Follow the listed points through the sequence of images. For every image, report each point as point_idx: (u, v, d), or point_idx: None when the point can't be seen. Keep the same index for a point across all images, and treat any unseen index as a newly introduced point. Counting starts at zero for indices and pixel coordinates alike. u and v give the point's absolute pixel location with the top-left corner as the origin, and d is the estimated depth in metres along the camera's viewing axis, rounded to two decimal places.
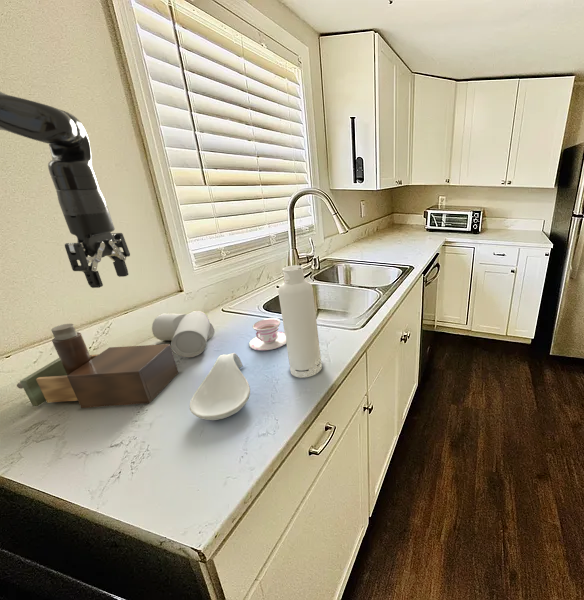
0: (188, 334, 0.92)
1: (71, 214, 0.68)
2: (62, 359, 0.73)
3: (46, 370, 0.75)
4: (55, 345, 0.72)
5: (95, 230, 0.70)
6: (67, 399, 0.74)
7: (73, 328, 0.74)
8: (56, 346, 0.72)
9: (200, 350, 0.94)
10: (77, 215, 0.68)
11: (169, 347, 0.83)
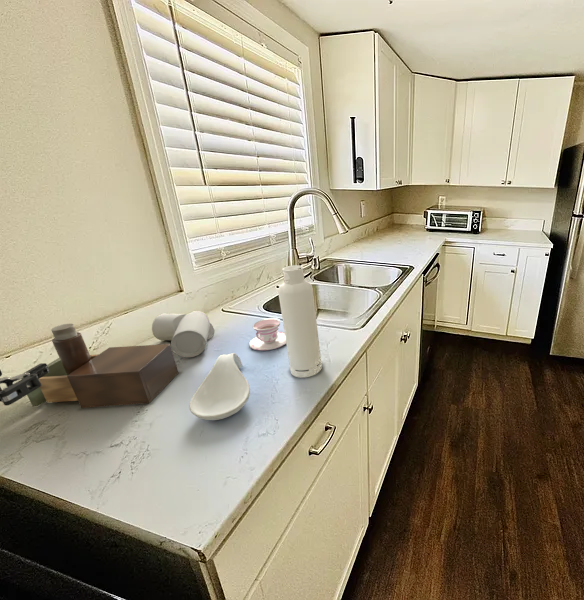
0: (188, 334, 0.92)
1: None
2: (62, 359, 0.73)
3: None
4: (55, 345, 0.72)
5: None
6: (67, 399, 0.74)
7: (73, 328, 0.74)
8: (56, 346, 0.72)
9: (200, 350, 0.94)
10: None
11: (169, 347, 0.83)
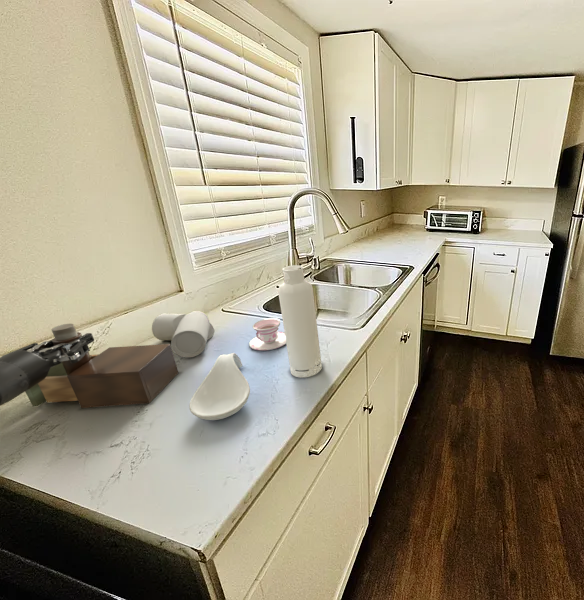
0: (188, 335, 0.92)
1: None
2: None
3: None
4: (55, 345, 0.72)
5: None
6: (67, 399, 0.74)
7: (73, 328, 0.74)
8: None
9: (200, 350, 0.94)
10: None
11: (169, 347, 0.83)
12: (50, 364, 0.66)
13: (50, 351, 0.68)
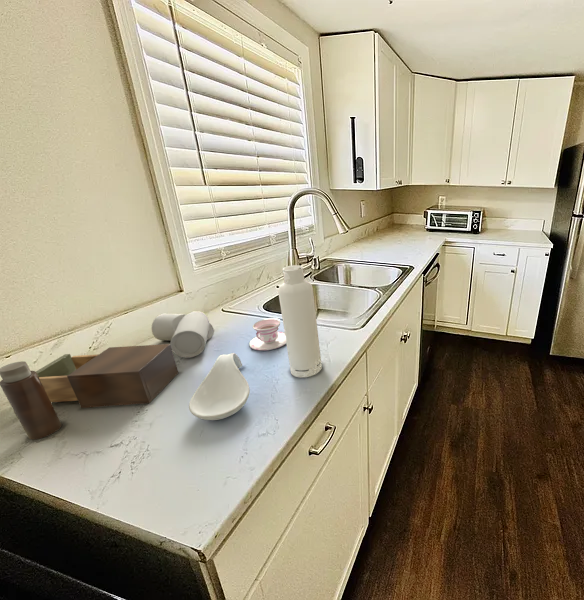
0: (187, 335, 0.92)
1: None
2: (12, 404, 0.62)
3: (46, 370, 0.75)
4: (3, 388, 0.60)
5: None
6: (67, 399, 0.74)
7: (26, 367, 0.62)
8: (4, 390, 0.60)
9: (199, 350, 0.94)
10: None
11: (169, 347, 0.83)
12: None
13: None
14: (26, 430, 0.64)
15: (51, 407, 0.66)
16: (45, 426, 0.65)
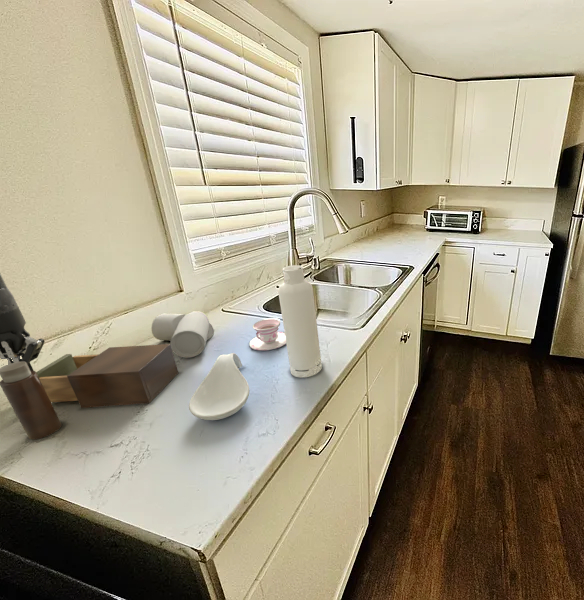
0: (187, 335, 0.92)
1: None
2: (12, 404, 0.62)
3: (47, 370, 0.75)
4: (3, 388, 0.60)
5: None
6: (68, 399, 0.74)
7: (26, 367, 0.62)
8: (4, 390, 0.60)
9: (199, 350, 0.94)
10: None
11: (169, 347, 0.83)
12: (20, 330, 0.72)
13: None
14: (26, 430, 0.64)
15: (51, 407, 0.66)
16: (45, 426, 0.65)
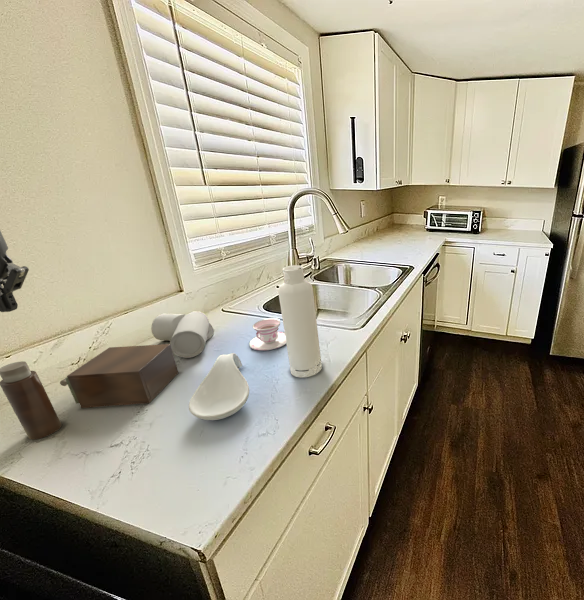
0: (187, 335, 0.92)
1: None
2: (12, 404, 0.62)
3: None
4: (3, 388, 0.60)
5: None
6: None
7: (26, 367, 0.62)
8: (4, 390, 0.60)
9: (199, 350, 0.94)
10: None
11: (169, 347, 0.83)
12: (1, 254, 0.66)
13: None
14: (26, 430, 0.64)
15: (51, 407, 0.66)
16: (45, 426, 0.65)
